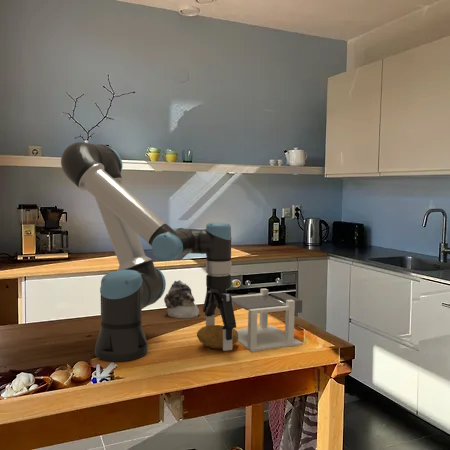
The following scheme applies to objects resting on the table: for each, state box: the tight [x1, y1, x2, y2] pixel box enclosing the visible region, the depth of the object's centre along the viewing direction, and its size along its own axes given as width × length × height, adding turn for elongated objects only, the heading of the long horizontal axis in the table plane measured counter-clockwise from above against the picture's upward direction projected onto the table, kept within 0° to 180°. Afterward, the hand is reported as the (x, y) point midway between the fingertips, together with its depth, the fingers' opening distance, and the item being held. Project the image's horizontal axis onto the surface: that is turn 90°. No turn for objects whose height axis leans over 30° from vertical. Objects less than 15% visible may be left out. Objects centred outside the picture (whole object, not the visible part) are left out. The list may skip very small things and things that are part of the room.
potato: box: [196, 324, 239, 350], centre depth 145 cm, size 9×13×7 cm
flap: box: [232, 292, 303, 314], centre depth 154 cm, size 20×14×4 cm
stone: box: [163, 279, 200, 319], centre depth 179 cm, size 14×10×15 cm
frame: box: [232, 288, 304, 353], centre depth 154 cm, size 18×20×14 cm
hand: (218, 343), depth 145 cm, fingers open, 13 cm apart
